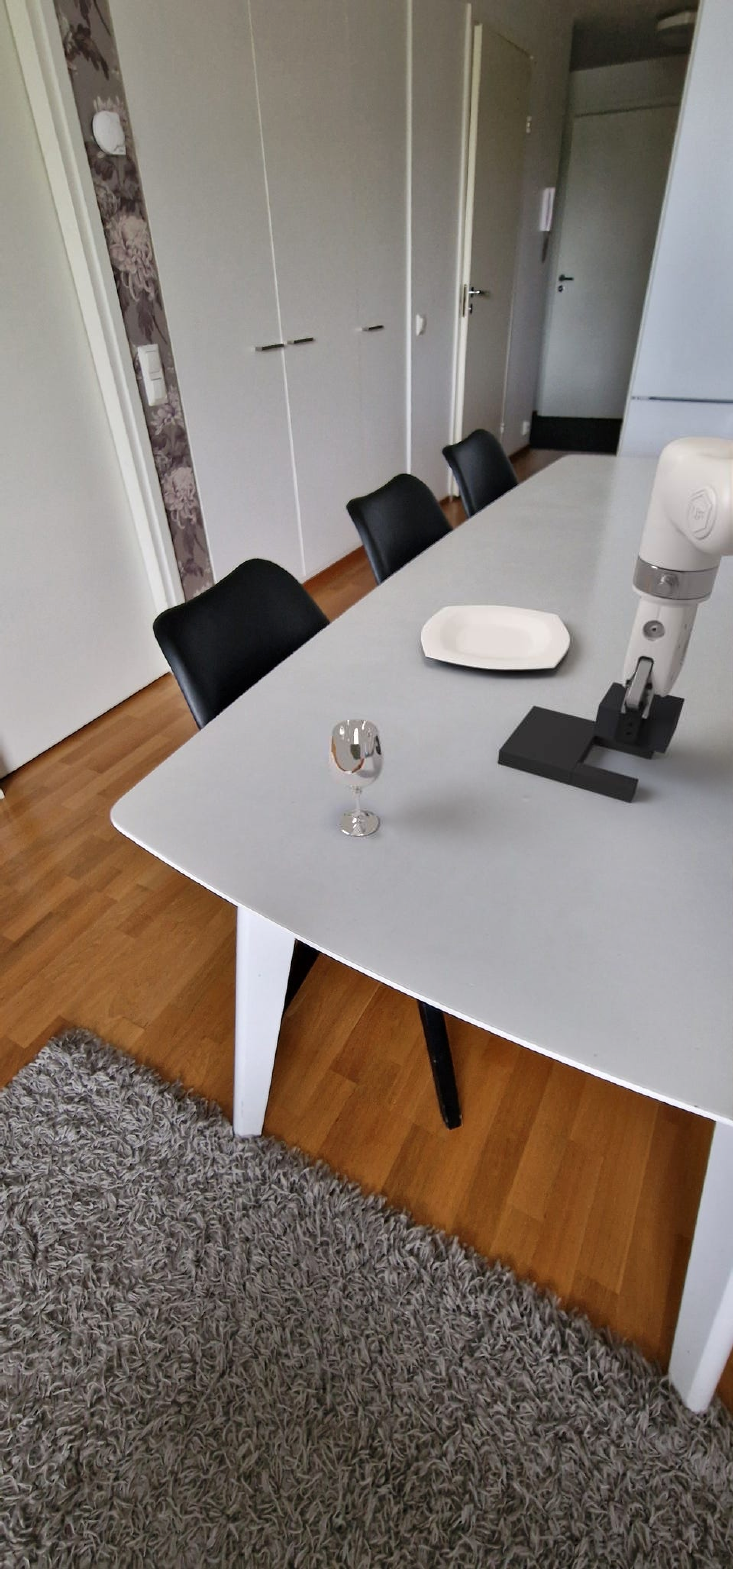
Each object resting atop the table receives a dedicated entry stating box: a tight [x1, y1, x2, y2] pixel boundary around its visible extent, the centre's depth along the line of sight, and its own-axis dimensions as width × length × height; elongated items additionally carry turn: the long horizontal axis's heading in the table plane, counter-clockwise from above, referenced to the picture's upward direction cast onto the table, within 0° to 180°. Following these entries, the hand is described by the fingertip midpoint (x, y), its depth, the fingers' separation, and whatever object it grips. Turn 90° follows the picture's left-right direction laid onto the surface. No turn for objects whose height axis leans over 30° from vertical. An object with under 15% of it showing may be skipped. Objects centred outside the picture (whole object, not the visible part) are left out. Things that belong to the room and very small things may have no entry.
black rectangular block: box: [593, 681, 685, 755], centre depth 80 cm, size 8×6×4 cm
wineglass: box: [327, 718, 385, 837], centre depth 74 cm, size 6×6×12 cm
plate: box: [420, 604, 571, 671], centre depth 111 cm, size 23×23×2 cm
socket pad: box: [497, 705, 655, 803], centre depth 86 cm, size 16×12×2 cm
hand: (636, 727), depth 81 cm, fingers closed on black rectangular block, 6 cm apart
